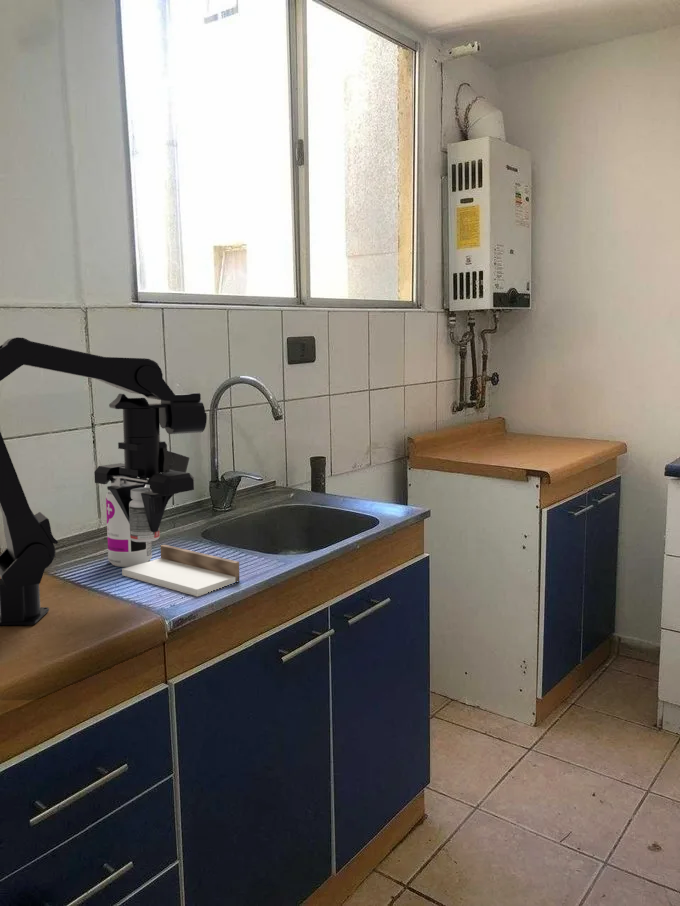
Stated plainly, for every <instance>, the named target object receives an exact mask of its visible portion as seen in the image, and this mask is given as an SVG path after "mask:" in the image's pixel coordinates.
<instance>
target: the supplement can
mask: <svg viewBox="0 0 680 906" xmlns="http://www.w3.org/2000/svg"><path fill="white" fill-rule="evenodd" d="M144 488H148V487H147V484H146V485H145V487H144ZM105 505H106V506H105V508H106V509H105V510H106V532H107V535H106V536H107V561H108V562H109V563H111V565H112V566H115V567H120V568H127V567H131V566H134V565H138V564H142V563H145V562H149V561H151V560H152V559H153V557H152V556H153V555H152V553H153V552H152V541H151V542H134V541H132V540H131V539H130V524H129V522H128V520H127V518H126V516H125V515H124V513H123V511H122V509H121V507H120V506H119V504H118V502H117V501H116V499H115V497H114V496H113V494H112V493H111V491H110V490H108V489H107V492H106V494H105Z"/></svg>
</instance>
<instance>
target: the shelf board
mask: <svg viewBox="0 0 680 906" xmlns="http://www.w3.org/2000/svg"><path fill="white" fill-rule="evenodd" d="M121 570H122V571H121V575H122V576H123V577H124V576H125V577H128V578H131V579H134V580H137V581H142V582H145V583H148V584H151V585H155V586H159V587H163V588H166V589H170V590H173V591H176V592H181V593H183V594H188V595H191V596H194V597H201V596H203V595H206V594H208V592H209V593H211V591H212V592H214V591H213V590H215V591H217V590H216V589H218V590H220V589H219V588H221V589H223V588H222V587H224V586H227V585H229V584H232V583H234V582H237V581H239V582H240V561H238V560H233V559H227V558H225V557H224V558H223V557H219V556H215V555H212V554H207V553H202V552H198V551H193V550H190V549H185V548H182V547H177V546H171V545H168V544H162V545H160V558H156V559H153V560H149V562H145V563H142V564H138V565H134V566H131V567H122V568H121ZM232 585H233V584H232ZM229 586H230V585H229ZM227 587H228V586H227ZM224 588H225V587H224Z"/></svg>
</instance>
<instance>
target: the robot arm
mask: <svg viewBox="0 0 680 906" xmlns="http://www.w3.org/2000/svg"><path fill="white" fill-rule="evenodd" d="M22 366H27V367H32V368H33V367H34V368H38V369H43V370H49V371H52V372H58V373H63V374H69V375H72V376H73V375H74V376H79V377H82V378H89V379H93V380H94V379H95V380H97V381H100V382H102V383H105V384H107V385H109V386H112V387H115V388H116V389H119V390H122V391H124V392H126V393H130V394H135V395H136V394H137V395H142V396H144V397H127V396H126V394H125V393H119V394H118V395H117V396H116V398H115V399H114V400H112V402H111V403H109V405H108V407H109V408H110V409H115V410H122V424H123V425H122V426H123V428H122V429H123V441H121V442H119V441H118V443H117V445H118V447H117V449H119V450H123V456H124V457H123V459H124V461H123V462H124V463H123V462H120V463H111V464H104V465H98V466H97V467H96V469H95V470H94V484H101V485H107V484H108V483H109V482H110V485H108V486H106V489H107V491H108V490H110V491H111V493H112V494H113V496H114V497H115V499H116V501H117V502H118V504H119V506H120V507H121V509H122V511H123V513H124V515H125V516H126V518H127V520H128V522H129V524H130V514H129V503H130V501H132V500H133V499H131V490H132V489H135V488H144V487H145V485H146V486H149V488H150V491H149V492H143V493H141V496H142V500H143V504H144V508H145V512H146V516H147V519H148V523H149V526H150V529H151V532H157V531H158V529H159V530H160V527H161V523H162V520H163V516H164V513H165V510H166V508H167V505H168V503H169V501H170V500H171V499H172V497H173V496H175V495H176V494H180V493H185V492H190V491H194V490H195V477H194V476H193V475H192V474H191V472H187V470H188V466H189V461H190V457H189V456H186V455H182V454H179V453H176V452H174V451H170V450H168V444H167V442H166V441H162V440H161V436H160V435H161V433H160V432H161V431H160V429H165V431H166V433H167V434H168V435H180V434H181V435H182V434H198V433H199V434H201V433H203V432H204V431H205V429H206V427H207V422H208V417H207V416H208V415H207V412H206V409H205V405H204V403H203V401H202V397H201V393H200V392H187V393H183V394H182V393H181V394H180V393H177V394H175V393H174V392H173V390H172V389H171V387H170V386H169V384H168V383H167V382H166V381H165V380H164V377H163V370H162V369H161V367H160V366H159V364H158V363H157V362H156V361H155V360H153V359H151V358H140V357H139V358H138V357H117V356H116V357H111V356H109V357H108V356H101V355H98V354H92V353H89V352H88V353H87V352H83V351H78V350H74V349H69V348H63V347H61V346H60V347H59V346H55V345H51V344H46V343H40V342H36V341H31V340H29V339H27V338H25V337H12V338H8V339H7V340H6V341H4V342H3V344H1V345H0V382H1V381H3V380H5V378H7V377H9V375H11V374H13V372H15V371H16V370H18V369H19V368H21V367H22ZM146 398H147V399H151V400H159V401H160V403H149V401H148V400H147V399H146ZM0 512H1V514H2V522H3V523H2V524H3V532H4V538H5V543H6V548H5V549H4V550H3V552H1V553H0V626H33V625H35V624H37V623H38V622H39V621H40V620H41V619H42V618H43V617H44V616H45V615H46V614H47V613H48V612H49V611H50V607H47V606H46V607H45V606H44V607H43V606H42V607H41V597H40V596H41V594H40V591H41V590H40V584H41V581H42V579H43V576H44V574H45V570H46V569H47V568H48V567H49V566H50V565H51V564H52V563H53V561H54V559H55V558H56V549H55V548H56V546H55V544H59V542H58V540H57V539H56V538H55V537H54V535H53V533H52V528H51V527H52V526H51V523H50V519H49V518H48V517H46V516H45V514H43V513H42V512H41V511H39V512H36V513H35V514H34V512H33V510H32V509H31V507H30V504H29V502H28V499H27V496H26V494H25V492H24V489H23V486H22V484H21V482H20V479H19V476H18V474H17V471H16V469H15V465H14V463H13V460H12V458H11V455H10V453H9V450H8V448H7V445H6V442H5V441H4V438H3V436H2V433H1V431H0Z"/></svg>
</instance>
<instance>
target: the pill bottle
mask: <svg viewBox="0 0 680 906" xmlns="http://www.w3.org/2000/svg"><path fill="white" fill-rule="evenodd" d="M149 491H150V487H147V488H135V489H132V490H131V499H133V500H132V501H130V503H129V514H130V539H131V540H132V541H134V542H151V543H152V542H154V541H158V540H159V538H160V534H161V533H160V532H161V531H160V528H159V529H158V531H157V532H151V529H150V526H149V523H148V519H147V516H146V512H145V508H144V504H143V500H142V496H141V493H143V492H149Z"/></svg>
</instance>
